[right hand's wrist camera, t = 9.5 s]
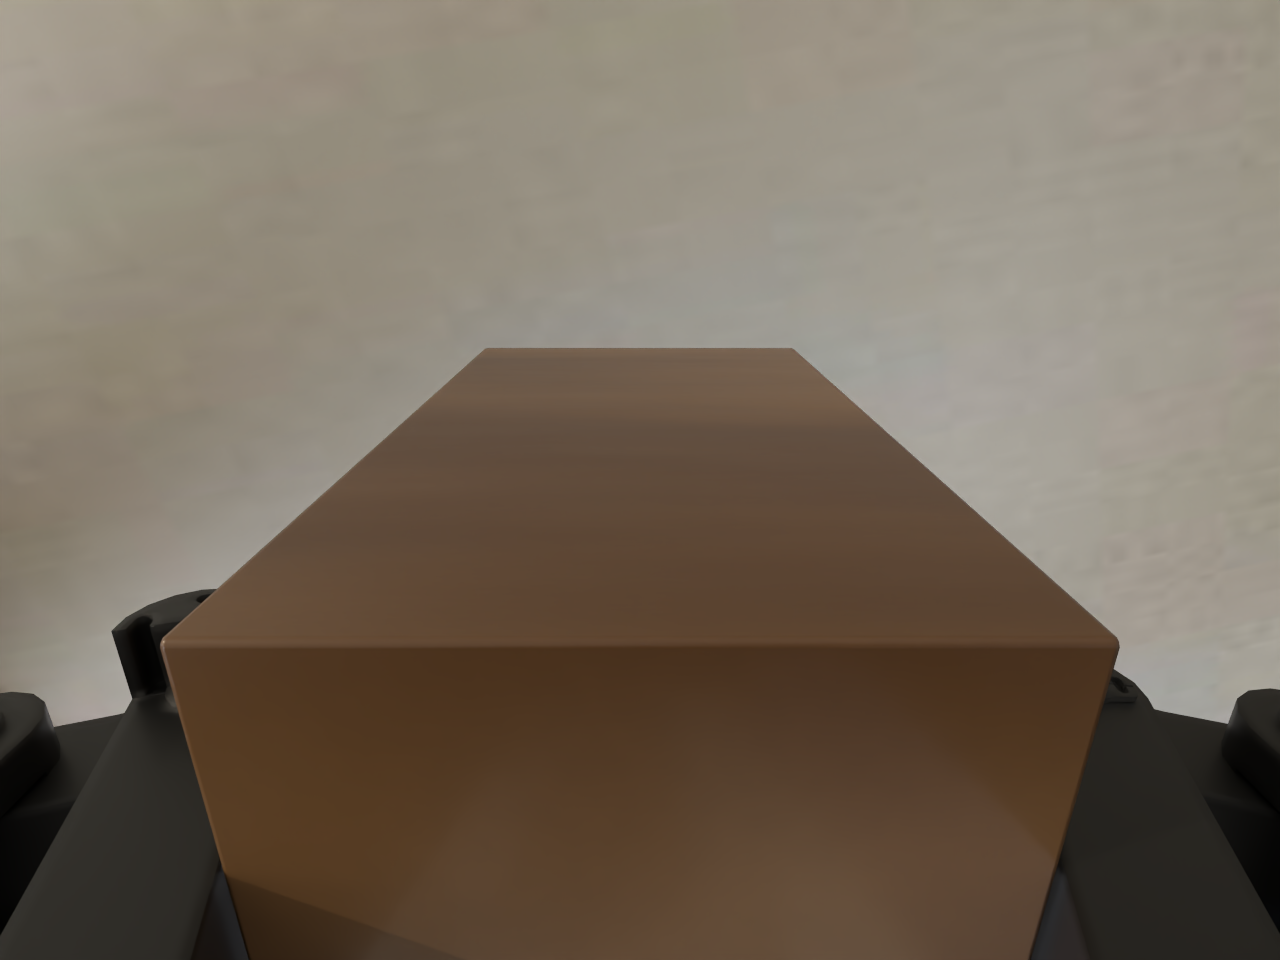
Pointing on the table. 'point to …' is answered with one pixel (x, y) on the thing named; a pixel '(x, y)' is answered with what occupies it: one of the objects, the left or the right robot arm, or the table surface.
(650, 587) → the box
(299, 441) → the table surface
